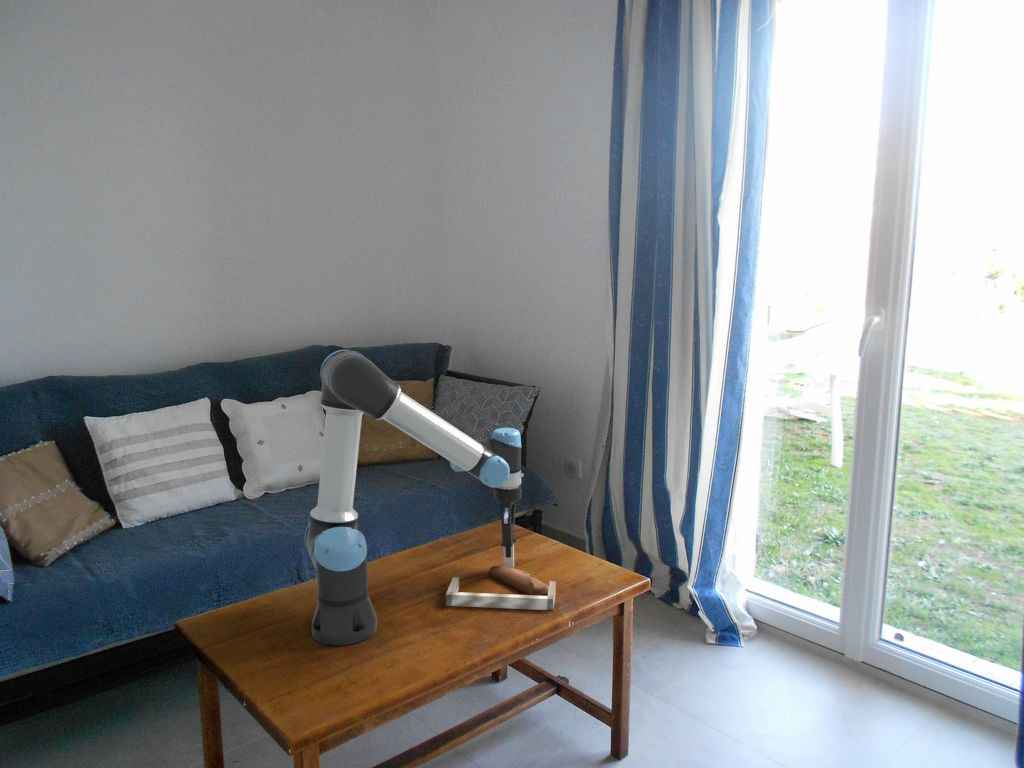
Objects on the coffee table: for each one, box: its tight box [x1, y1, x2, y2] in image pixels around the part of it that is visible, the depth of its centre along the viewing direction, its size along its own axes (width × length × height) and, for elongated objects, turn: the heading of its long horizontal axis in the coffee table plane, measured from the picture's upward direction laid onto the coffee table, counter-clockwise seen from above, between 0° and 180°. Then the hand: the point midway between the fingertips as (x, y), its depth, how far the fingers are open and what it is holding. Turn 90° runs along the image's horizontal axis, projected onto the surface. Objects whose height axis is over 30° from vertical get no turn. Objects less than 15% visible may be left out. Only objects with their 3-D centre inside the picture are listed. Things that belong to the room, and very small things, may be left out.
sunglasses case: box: [487, 565, 549, 596], centre depth 201 cm, size 18×7×7 cm
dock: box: [445, 576, 557, 611], centre depth 191 cm, size 27×10×3 cm, turn 84°
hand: (509, 566), depth 207 cm, fingers closed
